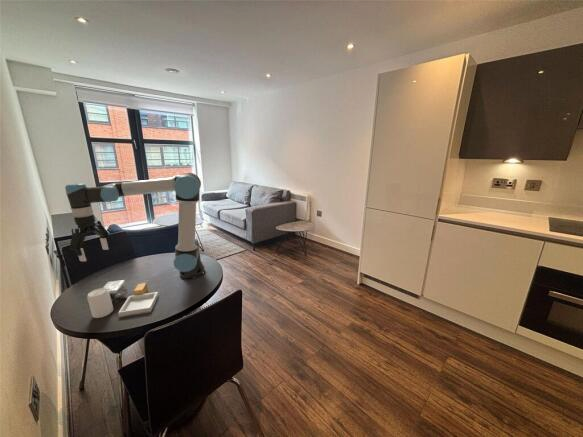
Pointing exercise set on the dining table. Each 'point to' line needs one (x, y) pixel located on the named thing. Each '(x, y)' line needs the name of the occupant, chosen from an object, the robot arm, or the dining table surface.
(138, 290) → the block
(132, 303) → the tray
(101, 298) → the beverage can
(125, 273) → the dining table surface
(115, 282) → the white hollow block
